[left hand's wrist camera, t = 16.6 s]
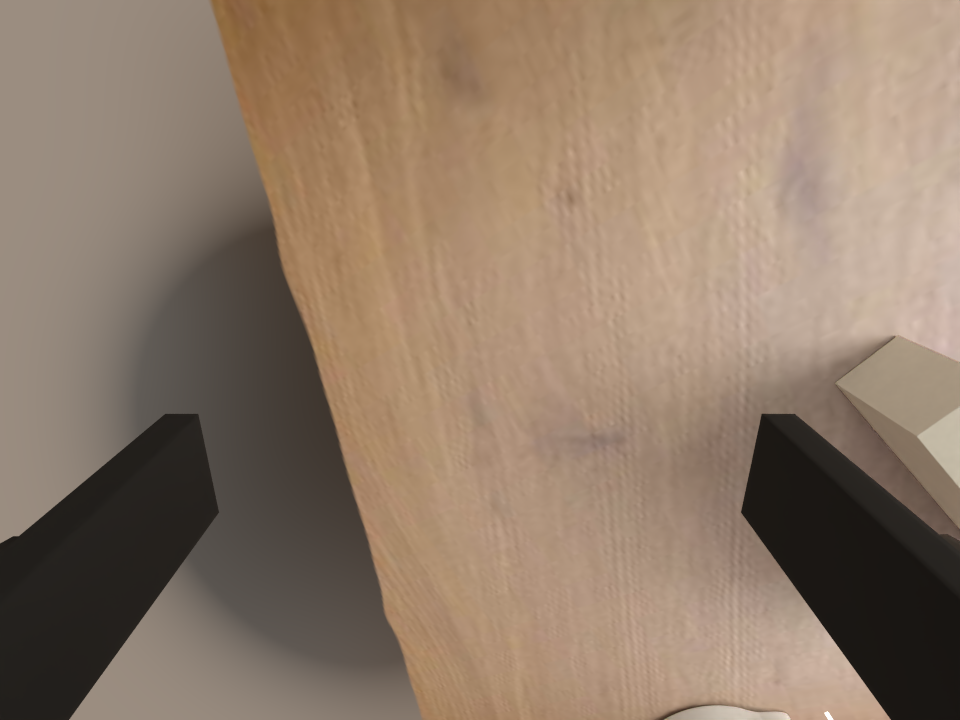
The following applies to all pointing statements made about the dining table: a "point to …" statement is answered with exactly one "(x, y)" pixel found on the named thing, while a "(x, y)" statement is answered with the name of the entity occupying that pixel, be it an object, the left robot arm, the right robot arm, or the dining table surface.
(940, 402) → the bar
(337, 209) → the dining table surface
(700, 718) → the right robot arm
